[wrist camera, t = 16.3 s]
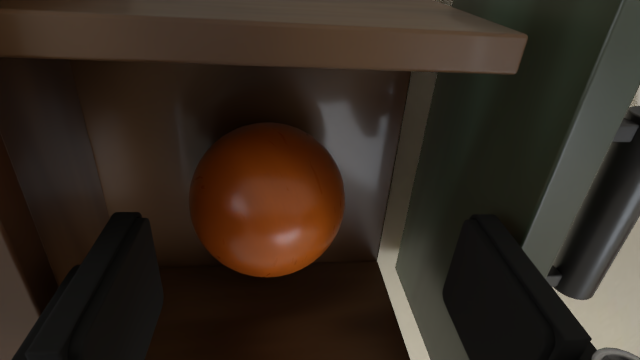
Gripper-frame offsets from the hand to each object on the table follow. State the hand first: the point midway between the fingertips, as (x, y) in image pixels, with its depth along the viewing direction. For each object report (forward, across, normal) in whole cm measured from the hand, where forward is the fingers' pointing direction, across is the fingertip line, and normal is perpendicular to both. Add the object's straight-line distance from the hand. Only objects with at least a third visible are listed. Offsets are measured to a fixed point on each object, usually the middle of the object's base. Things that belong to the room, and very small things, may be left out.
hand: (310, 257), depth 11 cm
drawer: (+7, -1, 0) cm, 7 cm away
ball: (+5, -1, 0) cm, 5 cm away
